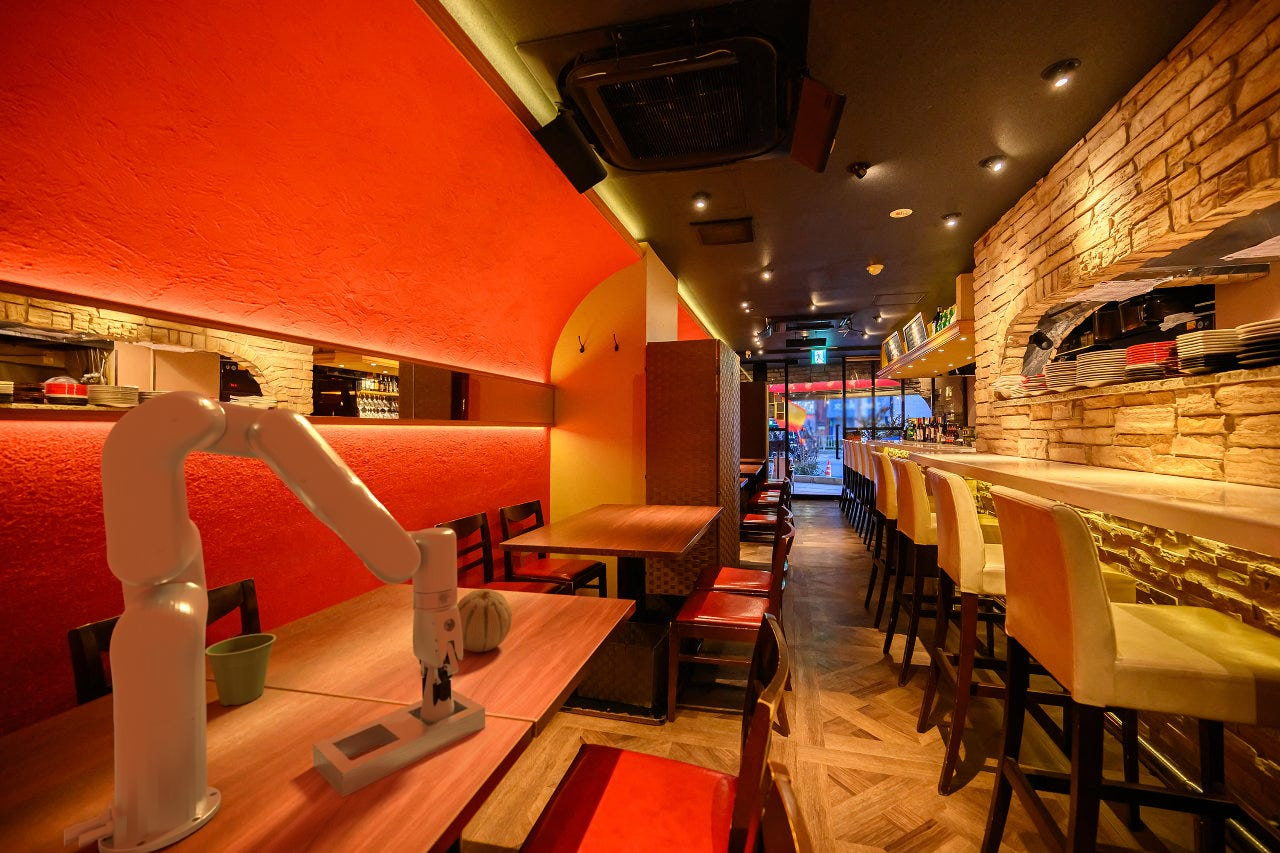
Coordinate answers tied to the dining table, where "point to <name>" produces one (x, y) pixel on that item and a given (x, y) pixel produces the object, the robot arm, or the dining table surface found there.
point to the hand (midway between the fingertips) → (436, 699)
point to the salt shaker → (428, 710)
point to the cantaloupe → (484, 619)
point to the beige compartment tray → (392, 743)
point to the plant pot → (240, 667)
